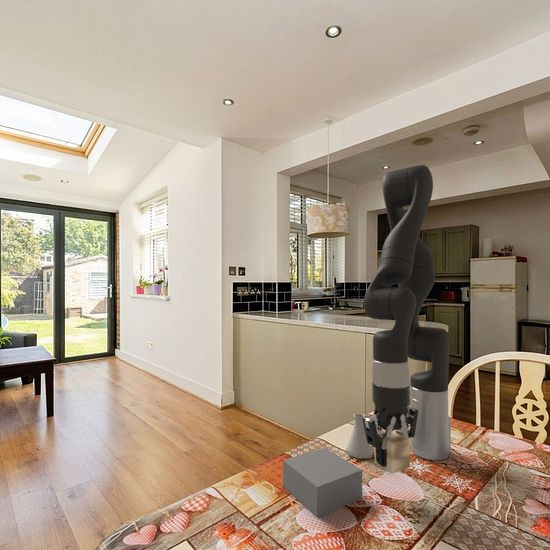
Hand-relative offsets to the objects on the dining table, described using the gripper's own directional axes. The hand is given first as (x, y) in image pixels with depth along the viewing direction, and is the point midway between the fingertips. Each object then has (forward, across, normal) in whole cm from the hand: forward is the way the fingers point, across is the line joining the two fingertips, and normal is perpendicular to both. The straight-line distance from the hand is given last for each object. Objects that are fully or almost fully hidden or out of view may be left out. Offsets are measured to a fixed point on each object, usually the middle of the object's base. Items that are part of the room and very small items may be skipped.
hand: (391, 461), depth 74 cm
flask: (+8, -6, -18) cm, 20 cm away
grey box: (+7, +13, -8) cm, 17 cm away
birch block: (+1, 0, 0) cm, 1 cm away
